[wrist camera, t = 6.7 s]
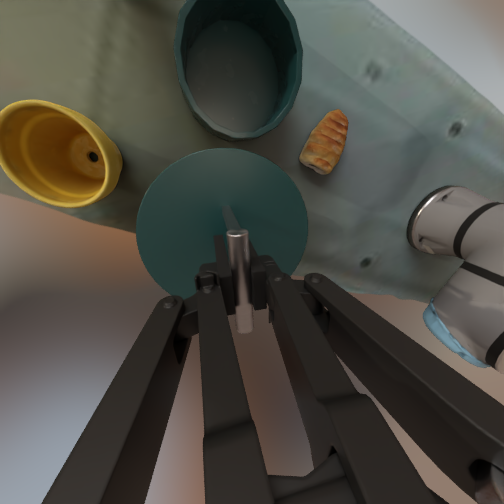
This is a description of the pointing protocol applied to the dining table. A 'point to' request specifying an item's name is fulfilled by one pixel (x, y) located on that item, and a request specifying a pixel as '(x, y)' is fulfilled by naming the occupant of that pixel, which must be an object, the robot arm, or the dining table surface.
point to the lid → (220, 221)
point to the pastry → (325, 143)
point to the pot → (238, 64)
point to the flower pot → (57, 154)
